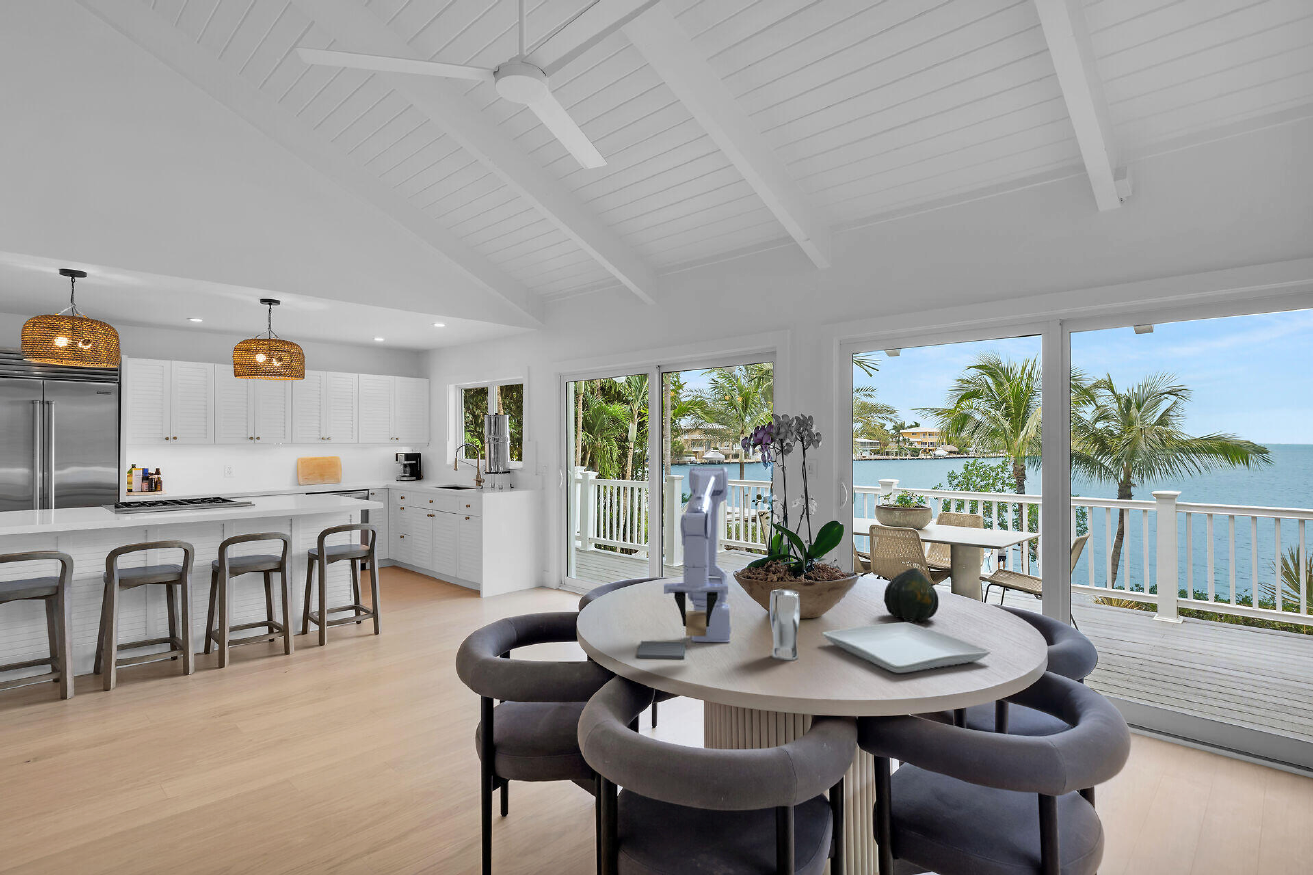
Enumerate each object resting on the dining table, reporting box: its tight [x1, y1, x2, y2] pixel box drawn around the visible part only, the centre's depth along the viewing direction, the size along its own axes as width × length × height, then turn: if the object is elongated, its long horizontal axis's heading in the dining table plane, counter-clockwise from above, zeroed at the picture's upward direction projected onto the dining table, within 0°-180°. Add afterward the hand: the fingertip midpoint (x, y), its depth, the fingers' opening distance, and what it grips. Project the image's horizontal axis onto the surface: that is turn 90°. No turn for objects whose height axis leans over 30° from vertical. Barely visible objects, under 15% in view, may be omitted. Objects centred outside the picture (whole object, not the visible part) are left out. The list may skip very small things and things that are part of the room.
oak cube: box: [685, 610, 706, 637], centre depth 151 cm, size 4×4×4 cm
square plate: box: [822, 621, 991, 674], centre depth 157 cm, size 27×27×4 cm
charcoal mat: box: [636, 640, 686, 660], centre depth 160 cm, size 11×11×1 cm
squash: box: [883, 567, 939, 623], centre depth 190 cm, size 14×15×15 cm
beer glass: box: [769, 589, 801, 662], centre depth 156 cm, size 7×7×15 cm
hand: (696, 625), depth 151 cm, fingers closed on oak cube, 4 cm apart
